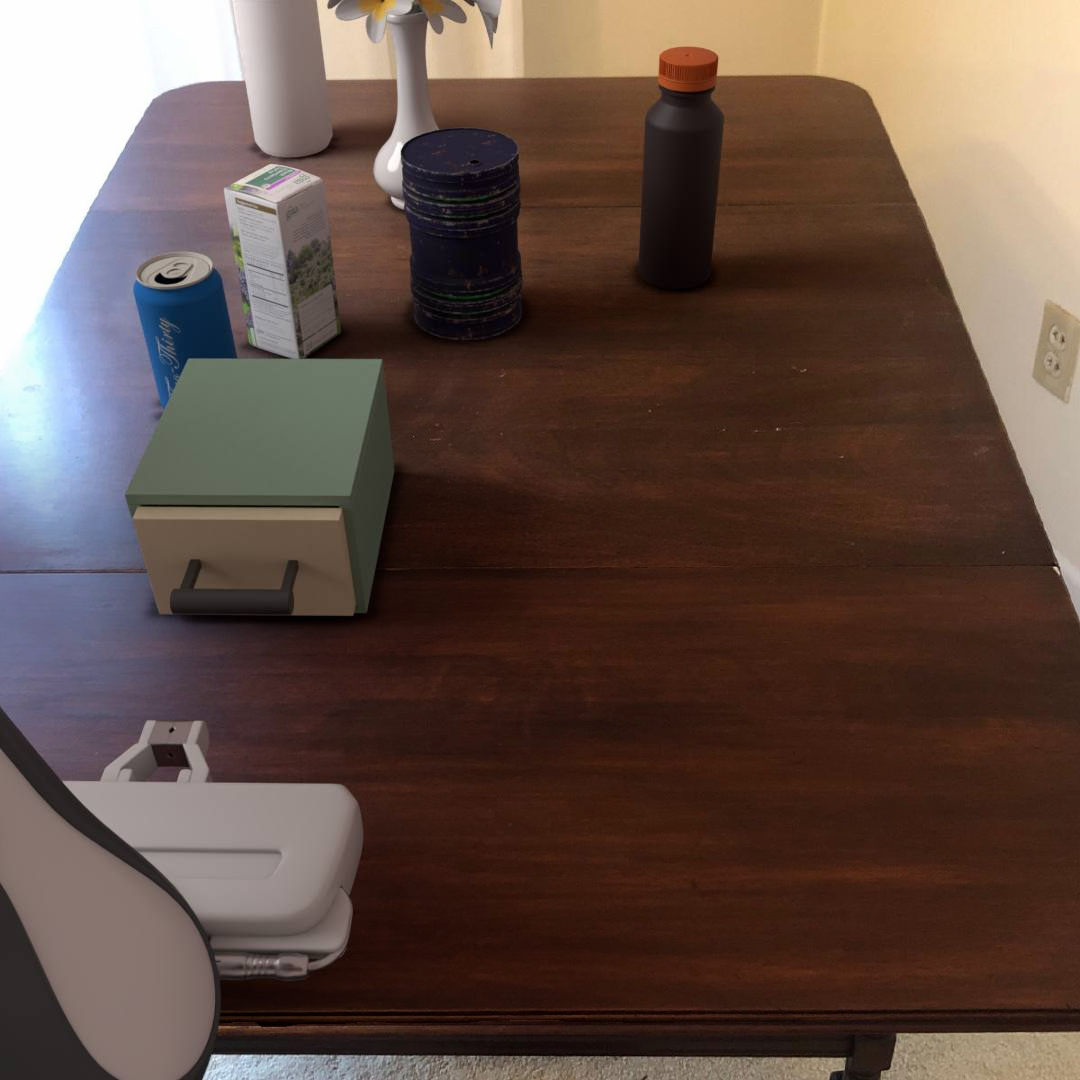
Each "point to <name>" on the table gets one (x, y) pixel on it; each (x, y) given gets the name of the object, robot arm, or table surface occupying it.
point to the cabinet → (277, 445)
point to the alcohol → (284, 75)
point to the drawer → (247, 559)
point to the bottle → (681, 171)
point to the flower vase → (409, 67)
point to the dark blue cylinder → (463, 231)
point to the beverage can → (181, 315)
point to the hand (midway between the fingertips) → (179, 728)
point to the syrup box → (284, 260)
